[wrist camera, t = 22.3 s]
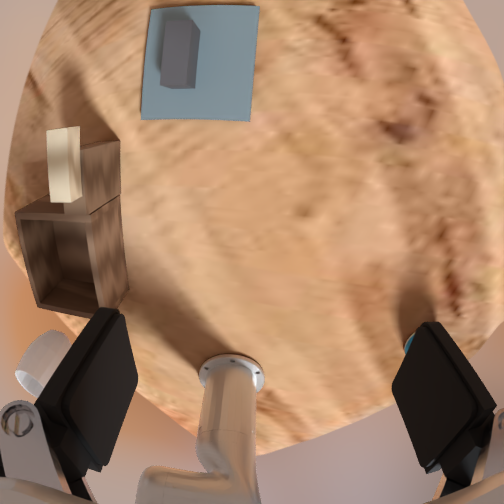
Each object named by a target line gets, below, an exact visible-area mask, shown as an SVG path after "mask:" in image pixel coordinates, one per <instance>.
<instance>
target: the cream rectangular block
mask: <svg viewBox="0 0 504 504" xmlns="http://www.w3.org/2000/svg"><path fill="white" fill-rule="evenodd" d="M47 164H48V179H49V190H50V200H51V202H66V203H71V202H73V201H75V200H76V199H78V198H80V197H82V184H81V166H80V126H75V127H67V128H59V129H53V130H47Z"/></svg>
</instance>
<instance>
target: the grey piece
mask: <svg viewBox="0 0 504 504" xmlns="http://www.w3.org/2000/svg"><path fill="white" fill-rule="evenodd" d="M259 10H260V6H244V5H199V6H181V7H169V8H160V9H151V16H150V23H149V30H148V38H147V46H146V55H145V65H144V77H143V91H142V108H141V120H154V119H208V120H233V121H249V122H250V114H251V101H252V89H253V77H254V66H255V54H256V43H257V32H258V21H259Z"/></svg>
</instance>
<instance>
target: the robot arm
mask: <svg viewBox="0 0 504 504" xmlns="http://www.w3.org/2000/svg"><path fill="white" fill-rule="evenodd" d="M199 380H200V382H201V384H202V385H203V387H204V388H205V391H204V397H203V403H202V409H201V415H200V421H199V427H198V434H197V440H196V453H197V457H198V459H199V461H200V462H201V464H202V465H203V467H204V468H205V469H206V471H207V472H208V473H202V472H200V473H199V472H193V471H186V470H180V469H175V468H170V467H164V466H150V467H148V468H146V469H145V470H144V471H143V473H142V475H141V477H140V480H139V483H138V489H137V494H136V502H135V504H261V498H260V493H259V487H258V481H257V474H256V393H257V392H258V391H259V390H261V388H262V387H263V385H264V381H265V376H264V372H263V369H262V368H261V367H260V365H258V364H257V363H256V362H255V361H253V360H251V359H249V358H247V357H244V356H240V355H233V354H224V355H218V356H215V357H212V358H210V359H208V360H207V361H205V362H204V363H203V365H202V366H201V368H200V372H199ZM137 383H138V373H137V369H136V365H135V361H134V357H133V353H132V349H131V345H130V340H129V336H128V331H127V327H126V322H125V317H124V315H123V314H120V312H119V310H118V309H114V308H107V307H100V308H99V309H98V310H97V311H96V312H95V314H94V315H93V317H92V318H91V319H90V321H89V322H88V323H87V325H86V326H85V328H84V329H83V330H82V332H81V333H80V335H79V336H78V337H77V339H76V340H75V342H74V343H73V345H72V346H71V348H70V349H69V351H68V352H67V353H66V355H65V356H64V358H63V359H62V361H61V362H60V364H59V365H58V367H57V369H56V370H55V372H54V373H53V375H52V376H51V378H50V379H49V381H48V383H47V384H46V386H45V387H44V389H43V391H42V392H41V394H40V395H39V397H38V399H37V400H36V402H35V404H34V405H33V404H31V403H30V402H28V401H23V400H17V401H13V402H11V403H9V404H7V405H6V406H4V407H3V409H2V410H1V411H0V504H97V501H96V500H95V498H94V496H93V493H92V491H91V489H90V487H89V485H88V483H87V481H86V479H85V475H86V472H87V470H88V469H91V470H94V471H97V472H101V470H102V466H103V465H104V466H106V465H107V464H108V463H109V461H110V458H111V455H112V452H113V449H114V446H115V443H116V440H117V437H118V435H119V432H120V429H121V426H122V424H123V421H124V418H125V416H126V413H127V410H128V407H129V405H130V402H131V399H132V397H133V394H134V392H135V389H136V387H137ZM392 393H393V395H394V398H395V400H396V403H397V405H398V408H399V410H400V413H401V415H402V418H403V420H404V423H405V425H406V428H407V431H408V433H409V436H410V439H411V441H412V444H413V447H414V449H415V452H416V455H417V458H418V461H419V464H420V466H421V467H423V468H424V469H425V471H426V474H428V473H432V472H435V471H438V470H440V469H441V468H442V471H443V475H442V477H441V480H440V482H439V485H438V488H437V490H436V492H435V495H434V497H433V499H432V501H430V502H427V503H424V504H504V408H502V409H500V410H498V411H497V413H496V414H495V415H494V413H493V410H494V409H495V407H496V406H497V405H496V403H495V402H494V400H493V398H492V397H491V395H490V393H489V392H488V391H487V389H486V387H485V385H484V384H483V382H482V381H481V379H480V378H479V377H478V375H477V373H476V372H475V370H474V369H473V367H472V366H471V364H470V363H469V362H468V360H467V359H466V357H465V356H464V354H463V353H462V352H461V350H460V349H459V347H458V346H457V345H456V343H455V342H454V341H453V339H452V338H451V336H450V335H449V334H448V332H447V331H446V330H445V328H444V327H443V326H442V324H441V323H440V322H424V323H423V324H422V325H421V326H420V327H418V328H417V330H416V332H415V335H414V337H413V339H412V342H411V344H410V346H409V349H408V351H407V353H406V355H405V358H404V360H403V362H402V364H401V366H400V368H399V370H398V373H397V375H396V377H395V379H394V381H393V383H392Z"/></svg>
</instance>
